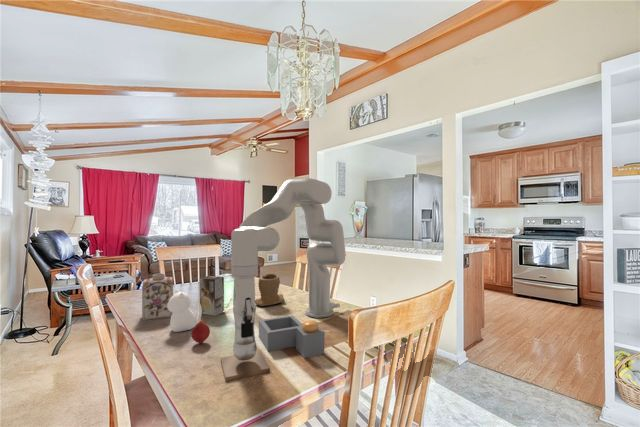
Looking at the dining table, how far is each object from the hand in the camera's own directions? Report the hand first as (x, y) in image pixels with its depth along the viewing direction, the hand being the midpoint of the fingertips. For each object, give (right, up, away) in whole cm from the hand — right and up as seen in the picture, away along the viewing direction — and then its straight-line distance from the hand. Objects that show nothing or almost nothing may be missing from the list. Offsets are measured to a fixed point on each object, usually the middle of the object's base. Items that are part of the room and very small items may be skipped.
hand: (244, 331), depth 87 cm
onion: (-19, -10, +15) cm, 27 cm away
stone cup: (-2, -11, +61) cm, 62 cm away
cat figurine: (-31, -10, +29) cm, 43 cm away
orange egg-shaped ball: (+19, -7, +9) cm, 22 cm away
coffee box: (-27, -11, +48) cm, 56 cm away
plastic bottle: (0, -8, 0) cm, 8 cm away
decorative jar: (-50, -11, +45) cm, 68 cm away
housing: (+11, -10, +14) cm, 21 cm away
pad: (0, -10, 0) cm, 10 cm away
